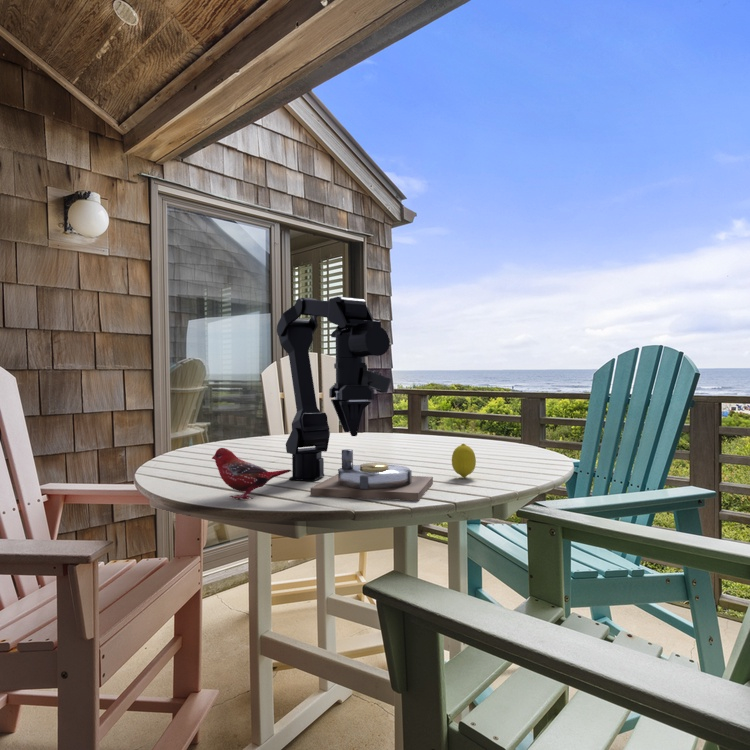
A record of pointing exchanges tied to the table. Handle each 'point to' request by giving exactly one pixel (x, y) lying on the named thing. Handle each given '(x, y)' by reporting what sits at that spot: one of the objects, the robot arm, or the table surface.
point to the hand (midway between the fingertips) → (350, 434)
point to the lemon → (463, 460)
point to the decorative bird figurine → (242, 473)
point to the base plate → (374, 490)
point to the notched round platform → (371, 474)
